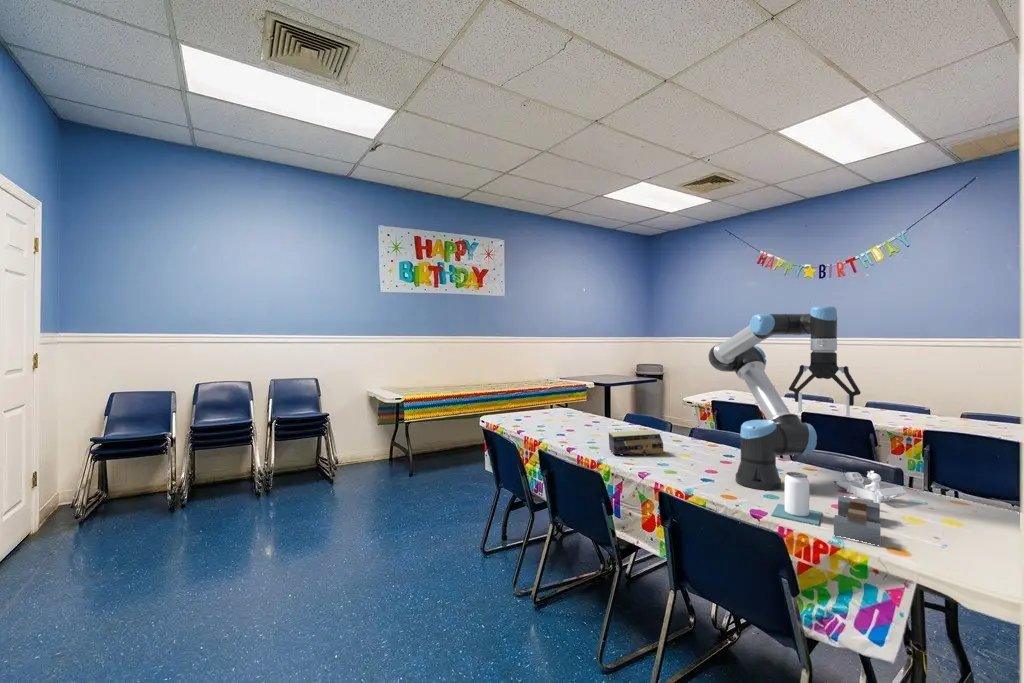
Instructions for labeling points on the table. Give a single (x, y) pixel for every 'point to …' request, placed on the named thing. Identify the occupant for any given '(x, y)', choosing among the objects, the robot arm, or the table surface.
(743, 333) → the robot arm
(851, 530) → the vise
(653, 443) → the toy bus
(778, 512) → the mat
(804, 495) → the can
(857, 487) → the toy boat
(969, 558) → the table surface
